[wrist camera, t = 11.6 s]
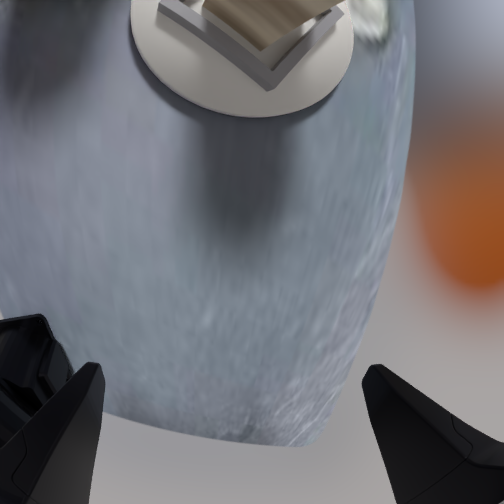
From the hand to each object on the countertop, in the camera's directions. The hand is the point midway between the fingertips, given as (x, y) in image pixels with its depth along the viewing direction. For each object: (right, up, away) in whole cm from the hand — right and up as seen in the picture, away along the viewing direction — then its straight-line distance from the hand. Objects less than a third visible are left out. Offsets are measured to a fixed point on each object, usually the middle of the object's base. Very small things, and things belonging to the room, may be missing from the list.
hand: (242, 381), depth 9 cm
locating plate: (0, +20, +7) cm, 21 cm away
